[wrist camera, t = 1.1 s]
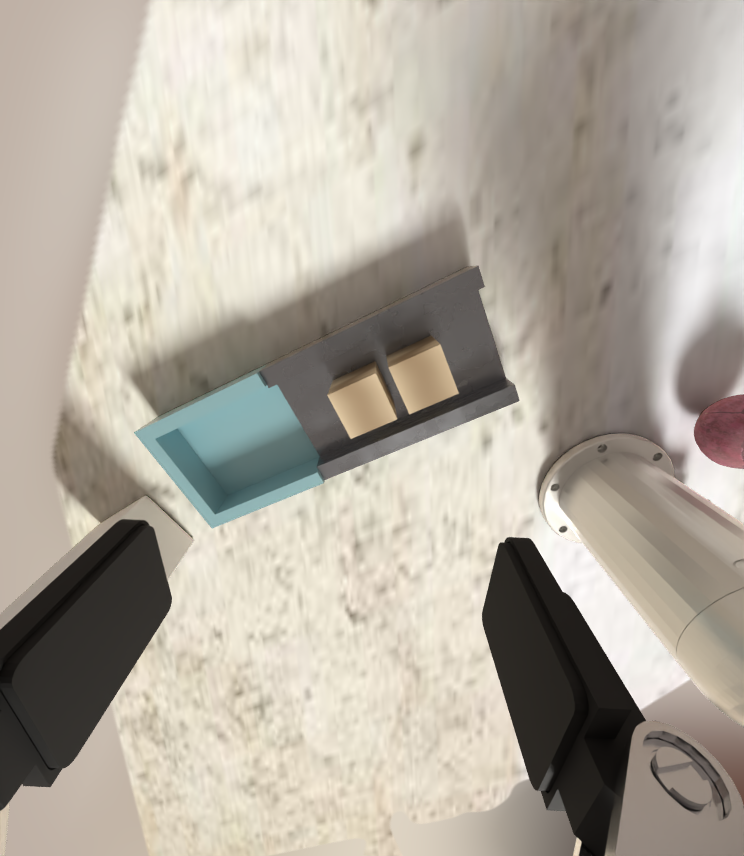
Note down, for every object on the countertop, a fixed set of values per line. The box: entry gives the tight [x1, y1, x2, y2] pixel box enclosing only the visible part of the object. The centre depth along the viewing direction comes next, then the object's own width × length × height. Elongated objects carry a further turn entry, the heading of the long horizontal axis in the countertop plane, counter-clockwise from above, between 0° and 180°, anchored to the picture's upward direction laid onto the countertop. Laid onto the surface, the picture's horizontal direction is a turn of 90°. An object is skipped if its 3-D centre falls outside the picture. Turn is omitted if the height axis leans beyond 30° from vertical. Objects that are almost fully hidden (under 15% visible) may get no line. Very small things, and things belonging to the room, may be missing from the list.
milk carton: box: [0, 496, 194, 629], centre depth 29 cm, size 7×7×19 cm
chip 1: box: [327, 361, 397, 439], centre depth 28 cm, size 4×4×4 cm
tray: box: [134, 364, 324, 528], centre depth 31 cm, size 12×11×4 cm
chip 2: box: [386, 336, 459, 414], centre depth 27 cm, size 4×4×4 cm
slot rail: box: [259, 266, 519, 480], centre depth 29 cm, size 18×11×3 cm, turn 115°
